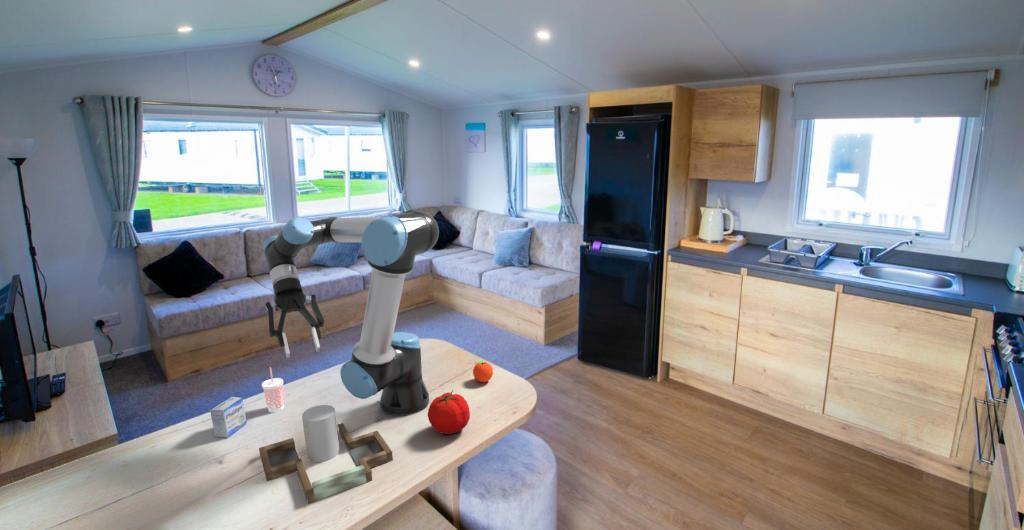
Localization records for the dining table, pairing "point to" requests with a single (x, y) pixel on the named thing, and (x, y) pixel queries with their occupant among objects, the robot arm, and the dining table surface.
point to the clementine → (482, 371)
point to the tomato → (449, 413)
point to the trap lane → (365, 454)
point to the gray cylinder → (320, 433)
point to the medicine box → (228, 417)
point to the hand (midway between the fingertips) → (303, 352)
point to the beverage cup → (274, 393)
